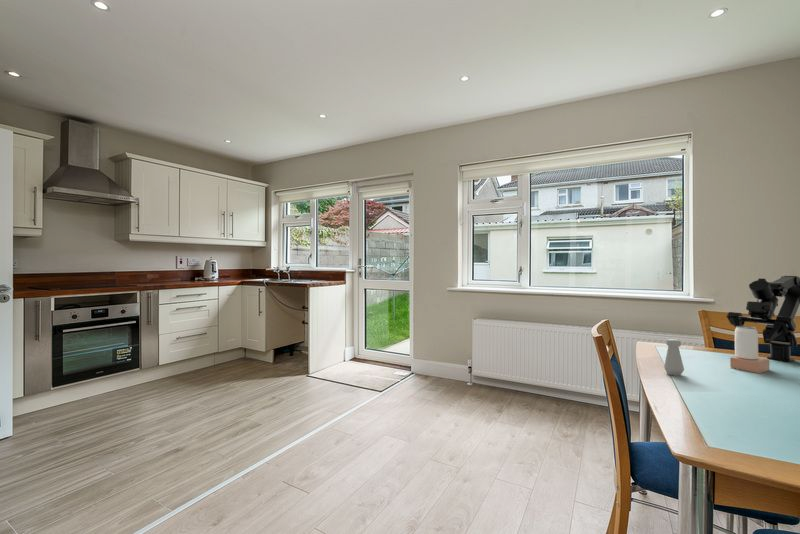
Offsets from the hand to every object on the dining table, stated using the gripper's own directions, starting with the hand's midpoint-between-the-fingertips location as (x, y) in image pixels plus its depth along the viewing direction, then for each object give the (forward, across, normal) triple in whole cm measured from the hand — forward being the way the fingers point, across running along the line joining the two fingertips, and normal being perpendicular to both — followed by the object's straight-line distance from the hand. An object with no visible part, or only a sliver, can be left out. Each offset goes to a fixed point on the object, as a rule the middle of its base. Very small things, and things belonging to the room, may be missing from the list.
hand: (752, 337), depth 137 cm
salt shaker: (+33, -10, -17) cm, 38 cm away
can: (+8, -1, +3) cm, 8 cm away
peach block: (+10, 0, +6) cm, 12 cm away
